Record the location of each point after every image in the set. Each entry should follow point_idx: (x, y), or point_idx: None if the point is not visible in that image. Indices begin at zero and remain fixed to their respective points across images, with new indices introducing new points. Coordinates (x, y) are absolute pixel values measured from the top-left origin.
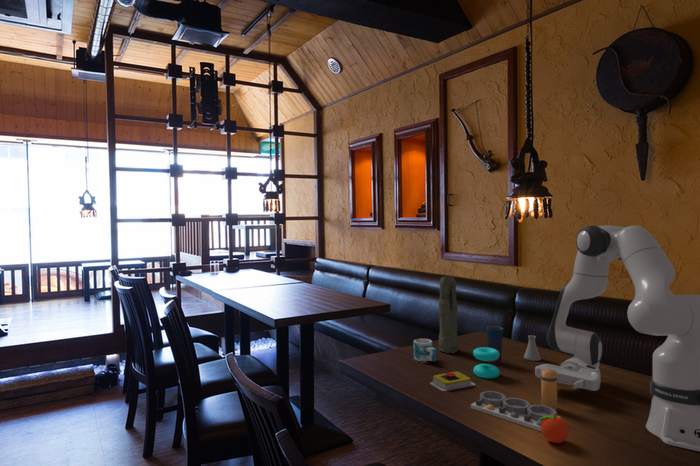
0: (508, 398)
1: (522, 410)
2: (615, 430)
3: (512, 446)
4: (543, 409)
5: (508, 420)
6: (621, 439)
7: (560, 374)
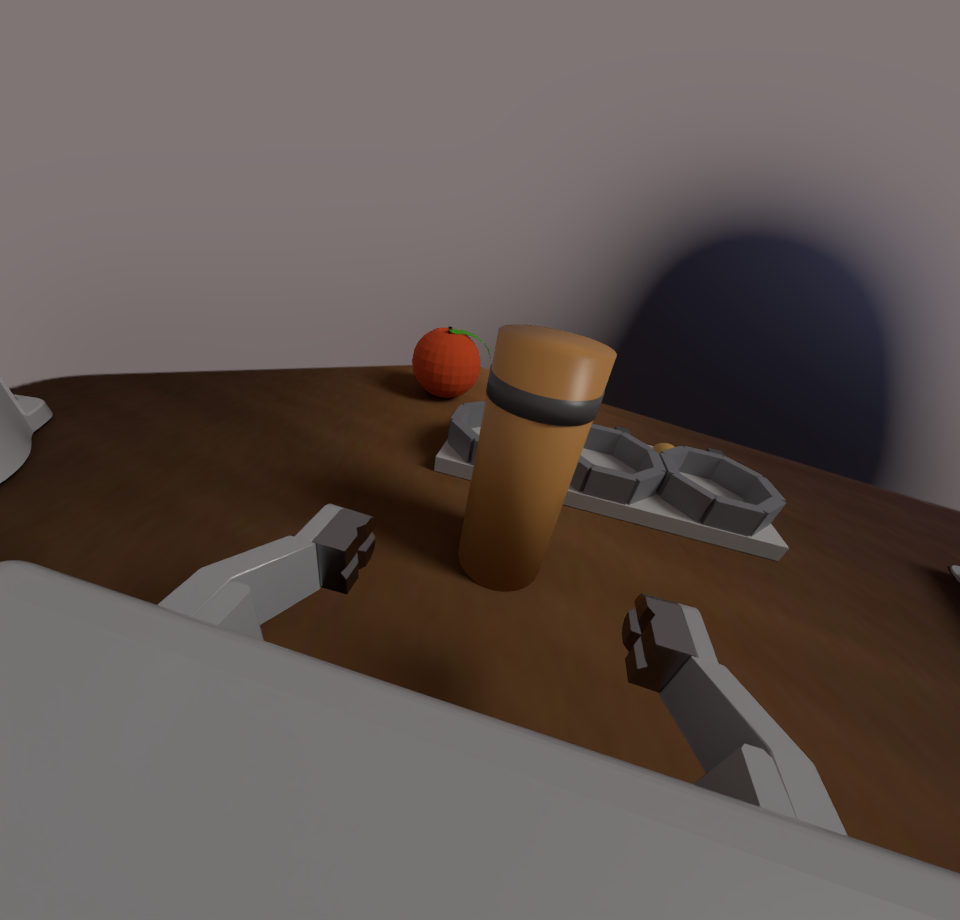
0: (657, 469)
1: None
2: (218, 455)
3: None
4: None
5: None
6: (236, 418)
7: (519, 727)
